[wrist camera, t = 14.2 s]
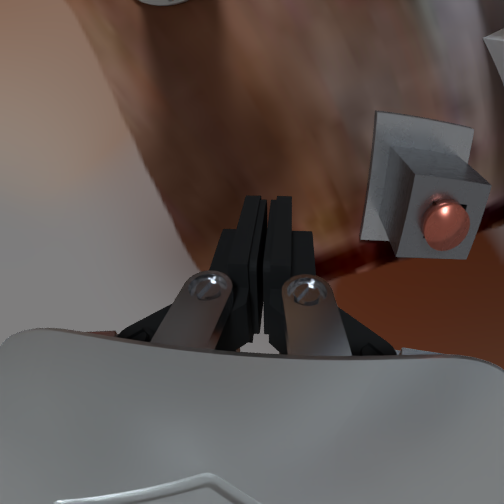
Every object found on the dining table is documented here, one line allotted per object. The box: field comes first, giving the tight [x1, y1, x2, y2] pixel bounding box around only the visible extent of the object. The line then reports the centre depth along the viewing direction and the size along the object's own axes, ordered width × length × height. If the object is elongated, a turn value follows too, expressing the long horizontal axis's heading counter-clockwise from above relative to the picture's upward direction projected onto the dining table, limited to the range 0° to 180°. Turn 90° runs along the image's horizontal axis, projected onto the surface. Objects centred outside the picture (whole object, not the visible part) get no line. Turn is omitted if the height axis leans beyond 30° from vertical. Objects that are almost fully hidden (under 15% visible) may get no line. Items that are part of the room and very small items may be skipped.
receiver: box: [359, 110, 492, 259], centre depth 33 cm, size 18×14×10 cm
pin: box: [421, 199, 470, 251], centre depth 31 cm, size 6×6×10 cm
